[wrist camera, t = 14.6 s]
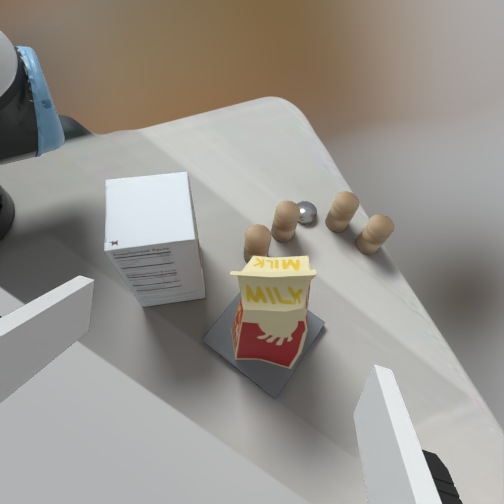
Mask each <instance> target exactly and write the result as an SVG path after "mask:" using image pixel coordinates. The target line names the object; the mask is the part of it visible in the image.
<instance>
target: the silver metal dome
mask: <svg viewBox="0 0 504 504" xmlns="http://www.w3.org/2000/svg"><path fill="white" fill-rule="evenodd" d="M297 205H298V206H299V208H300V217H299V220H298V222H299V223H301V224H310V223H311V222H313V221H314V219H315V216H316V214H317V210H316V207H315V206H314V205H313V204H312V203H310V202H306V201H303V202H300V203H298V204H297Z"/></svg>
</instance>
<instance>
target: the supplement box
mask: <svg viewBox="0 0 504 504" xmlns="http://www.w3.org/2000/svg"><path fill="white" fill-rule="evenodd" d="M105 187H106V223H105V243H104V252H105V254H106V255H107V257H108V258H109V259H110V261H111V262H112V264H113V265H114V267H115V268H116V270H117V271H118V272H119V274H120V275H121V277H122V278H123V279H124V281H125V282H126V284H127V285H128V287H129V288H130V290H131V291H132V293H133V294H134V296H135V297H136V299H137V300H138V301H139V303H140V304H141V306H142V307H146V306H153V305H160V304H167V303H173V302H180V301H187V300H194V299H201V298H205V297H206V294H205V284H204V275H203V266H202V258H201V250H200V244H199V239H198V232H197V225H196V219H195V212H194V206H193V200H192V194H191V188H190V182H189V177H188V173H187V172H180V173H169V174H160V175H150V176H140V177H130V178H120V179H111V180H106V181H105Z"/></svg>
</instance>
